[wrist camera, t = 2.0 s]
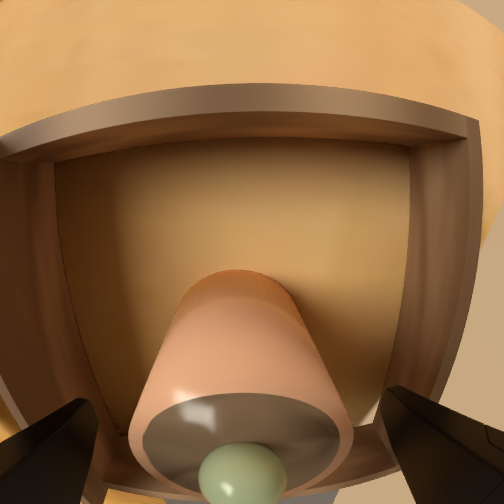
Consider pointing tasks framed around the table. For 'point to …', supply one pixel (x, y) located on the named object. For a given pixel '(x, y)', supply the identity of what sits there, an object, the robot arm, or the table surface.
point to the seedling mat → (308, 503)
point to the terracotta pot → (239, 397)
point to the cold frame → (221, 127)
